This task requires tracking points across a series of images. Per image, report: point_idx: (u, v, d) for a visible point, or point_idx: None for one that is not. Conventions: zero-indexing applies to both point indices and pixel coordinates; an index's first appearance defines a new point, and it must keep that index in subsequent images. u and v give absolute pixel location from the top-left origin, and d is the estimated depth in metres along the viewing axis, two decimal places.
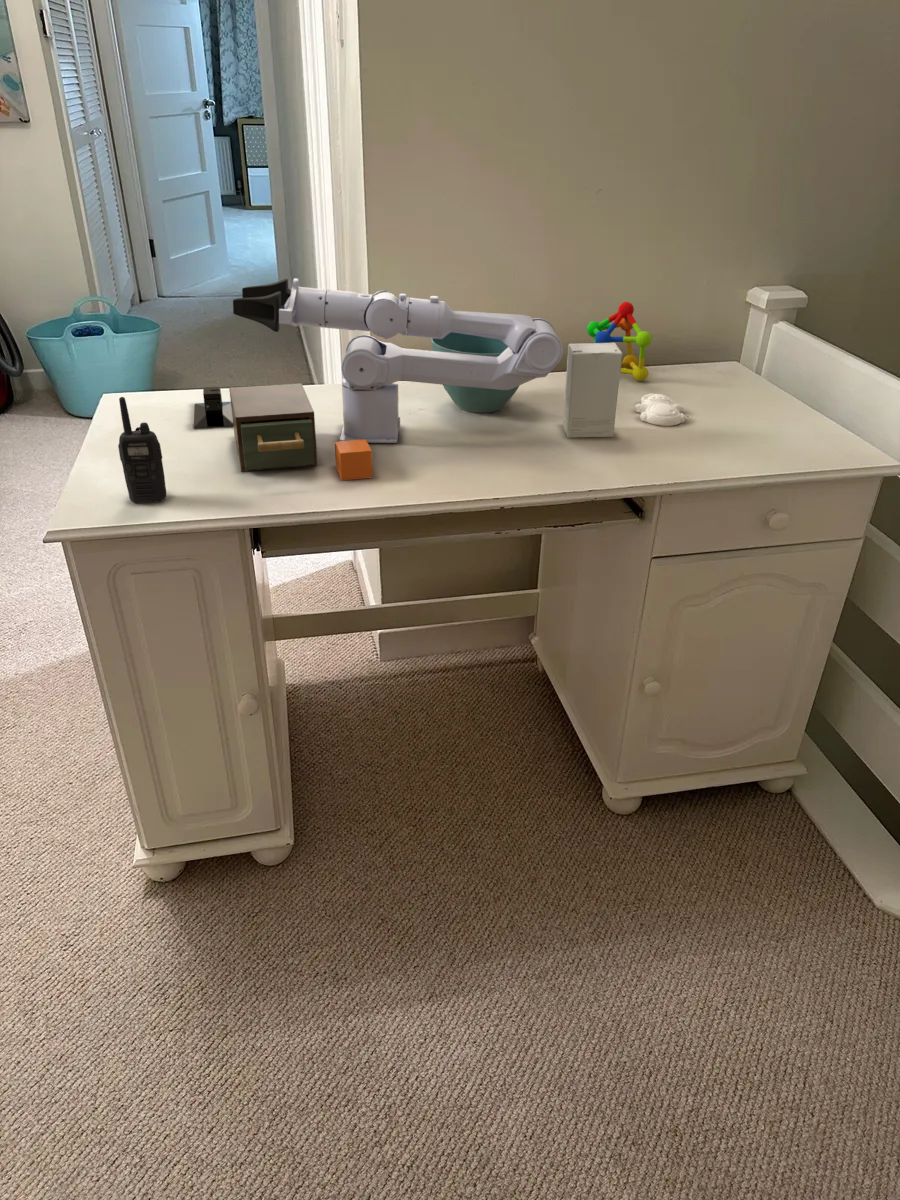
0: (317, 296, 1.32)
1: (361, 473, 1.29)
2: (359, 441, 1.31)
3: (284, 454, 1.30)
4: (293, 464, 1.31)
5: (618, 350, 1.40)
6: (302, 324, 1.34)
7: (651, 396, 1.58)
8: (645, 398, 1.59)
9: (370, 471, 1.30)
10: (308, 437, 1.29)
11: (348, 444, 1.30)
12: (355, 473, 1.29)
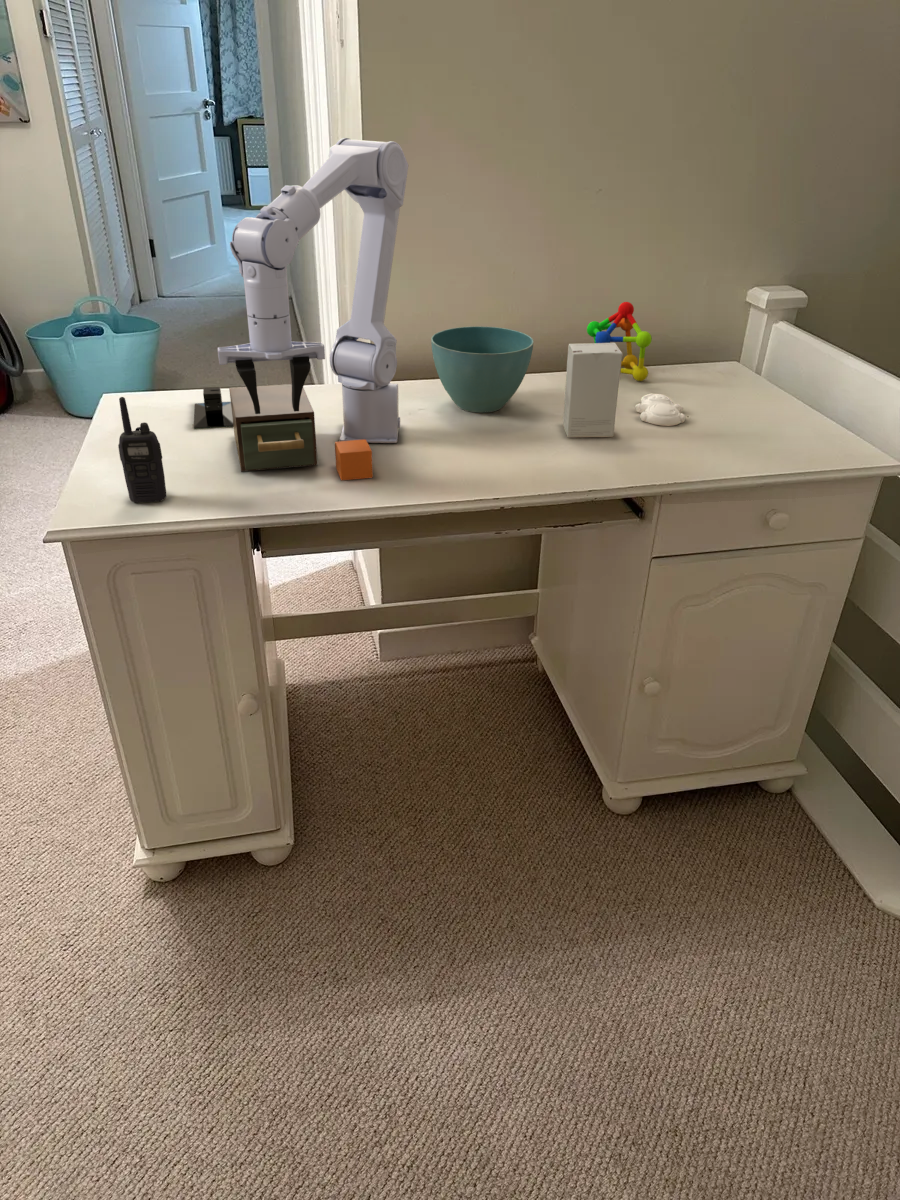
0: (285, 326, 1.17)
1: (361, 473, 1.29)
2: (359, 441, 1.31)
3: (284, 454, 1.30)
4: (293, 464, 1.31)
5: (618, 350, 1.40)
6: None
7: (651, 396, 1.58)
8: (645, 398, 1.59)
9: (370, 471, 1.30)
10: (308, 437, 1.29)
11: (348, 444, 1.30)
12: (355, 473, 1.29)
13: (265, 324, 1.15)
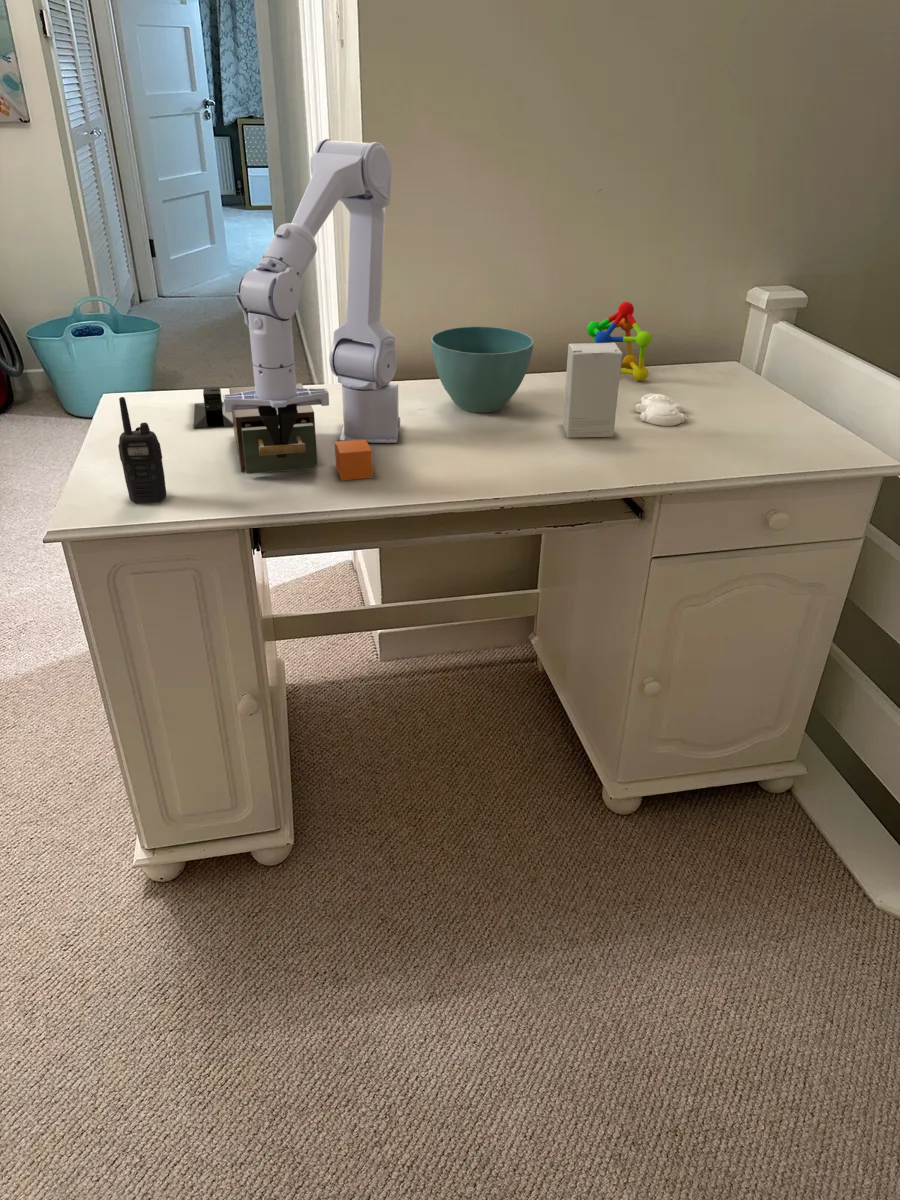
0: (289, 375, 1.18)
1: (361, 473, 1.29)
2: (359, 441, 1.31)
3: (285, 458, 1.29)
4: (294, 468, 1.30)
5: (618, 350, 1.40)
6: None
7: (651, 396, 1.58)
8: (645, 398, 1.59)
9: (370, 471, 1.30)
10: (310, 441, 1.28)
11: (348, 444, 1.30)
12: (355, 473, 1.29)
13: (270, 373, 1.17)
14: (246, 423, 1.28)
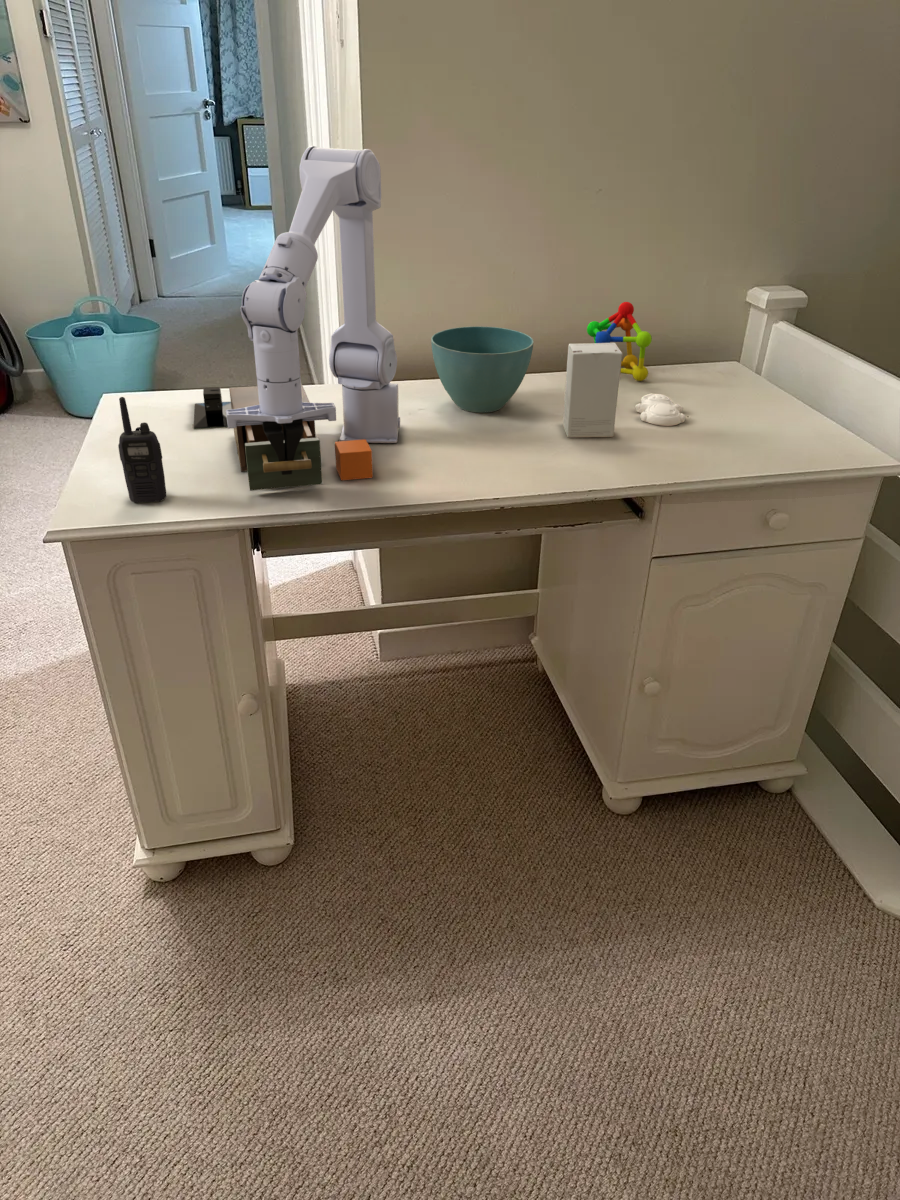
0: (295, 389, 1.13)
1: (361, 473, 1.29)
2: (359, 441, 1.31)
3: (290, 474, 1.24)
4: (300, 484, 1.25)
5: (618, 350, 1.40)
6: None
7: (651, 396, 1.58)
8: (645, 398, 1.59)
9: (370, 471, 1.30)
10: (316, 456, 1.23)
11: (348, 444, 1.30)
12: (355, 473, 1.29)
13: (275, 388, 1.12)
14: (249, 438, 1.23)
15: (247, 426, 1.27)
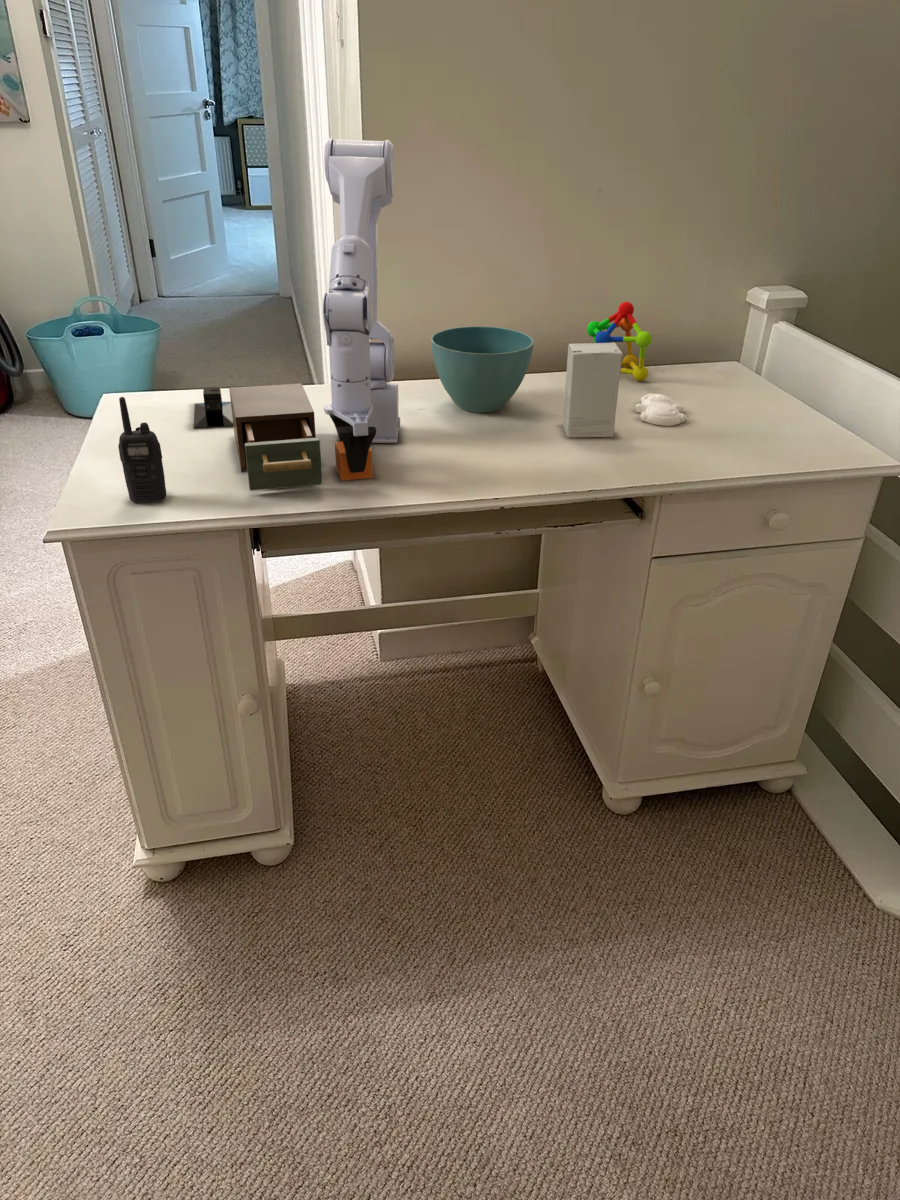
0: (338, 390, 1.22)
1: (361, 473, 1.29)
2: None
3: (290, 474, 1.24)
4: (300, 484, 1.25)
5: (618, 350, 1.40)
6: (369, 402, 1.25)
7: (651, 396, 1.58)
8: (645, 398, 1.59)
9: (370, 471, 1.30)
10: (316, 456, 1.23)
11: None
12: (355, 473, 1.29)
13: None
14: (249, 438, 1.23)
15: (247, 426, 1.27)
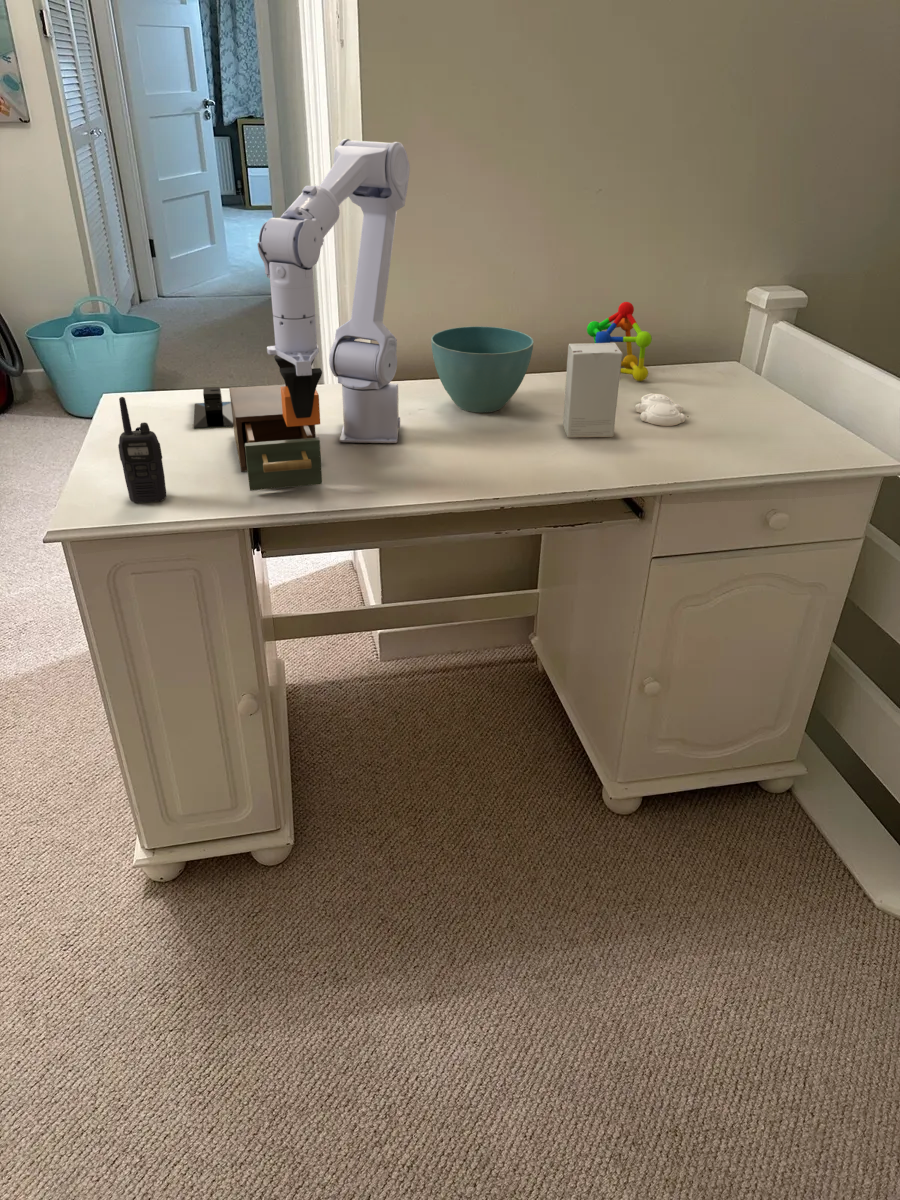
0: (280, 328, 1.16)
1: (308, 419, 1.23)
2: None
3: (290, 474, 1.24)
4: (300, 484, 1.25)
5: (618, 350, 1.40)
6: (314, 342, 1.18)
7: (651, 396, 1.58)
8: (645, 398, 1.59)
9: (317, 417, 1.23)
10: (316, 456, 1.23)
11: None
12: (302, 419, 1.23)
13: None
14: (249, 438, 1.23)
15: (247, 426, 1.27)
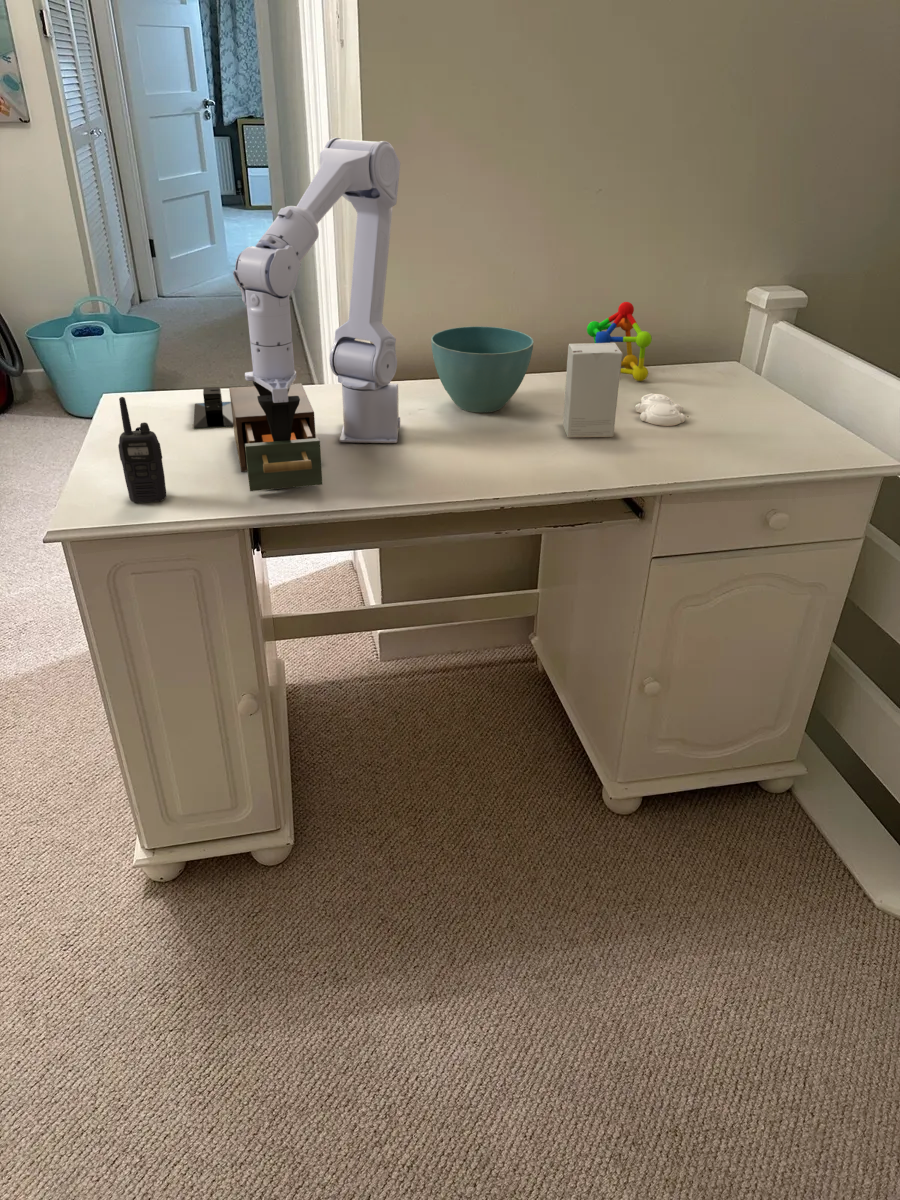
0: (257, 354, 1.17)
1: None
2: None
3: (290, 474, 1.23)
4: (300, 485, 1.25)
5: (618, 350, 1.40)
6: (291, 368, 1.19)
7: (651, 396, 1.58)
8: (645, 398, 1.59)
9: None
10: (316, 457, 1.23)
11: None
12: None
13: None
14: (250, 438, 1.23)
15: (247, 426, 1.26)
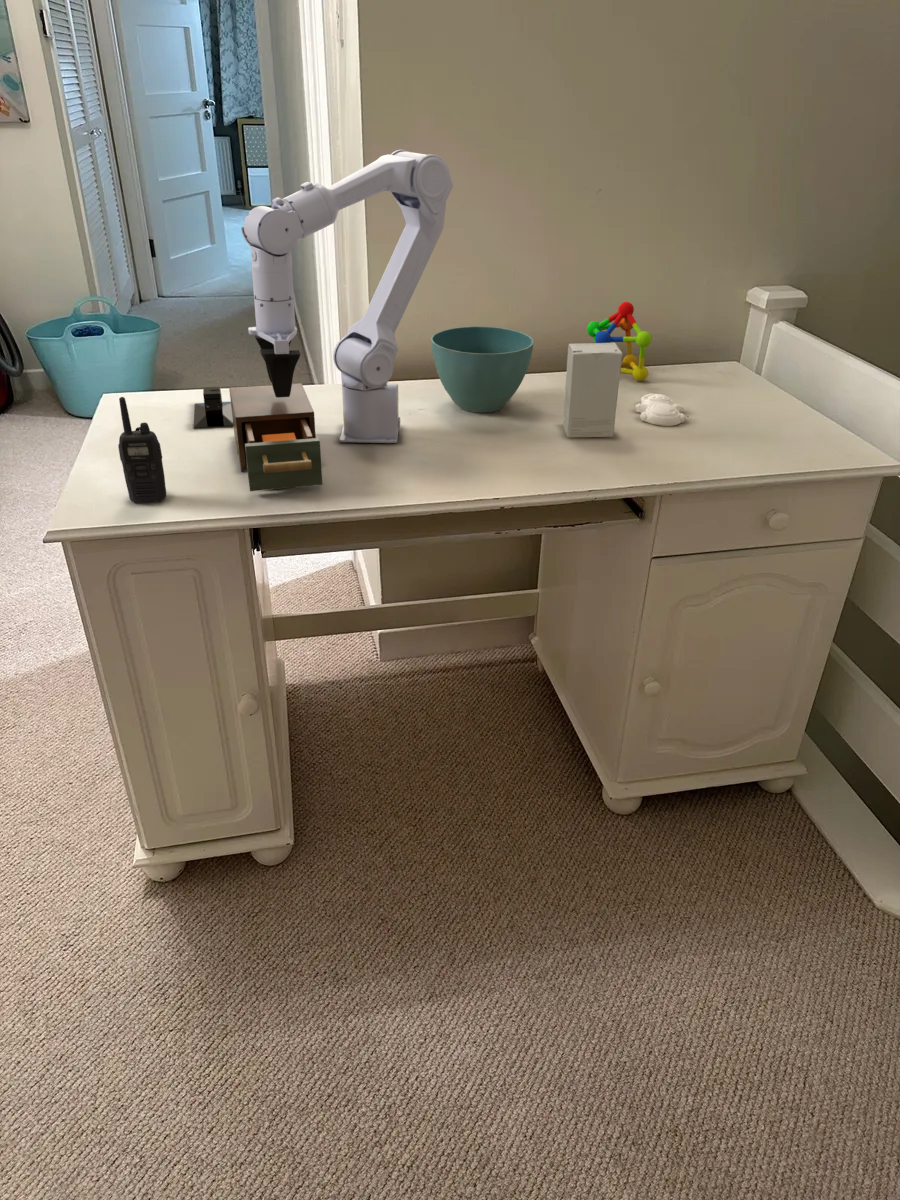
0: (261, 309, 1.24)
1: None
2: (287, 434, 1.27)
3: (290, 474, 1.23)
4: (300, 485, 1.25)
5: (618, 350, 1.40)
6: (292, 323, 1.27)
7: (651, 396, 1.58)
8: (645, 398, 1.59)
9: None
10: (316, 457, 1.23)
11: (275, 437, 1.26)
12: None
13: None
14: (250, 438, 1.23)
15: (247, 426, 1.26)
